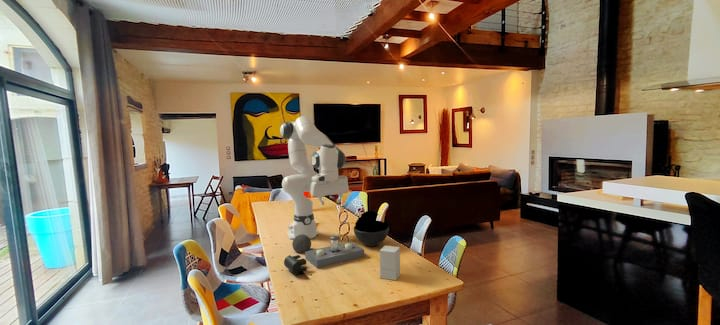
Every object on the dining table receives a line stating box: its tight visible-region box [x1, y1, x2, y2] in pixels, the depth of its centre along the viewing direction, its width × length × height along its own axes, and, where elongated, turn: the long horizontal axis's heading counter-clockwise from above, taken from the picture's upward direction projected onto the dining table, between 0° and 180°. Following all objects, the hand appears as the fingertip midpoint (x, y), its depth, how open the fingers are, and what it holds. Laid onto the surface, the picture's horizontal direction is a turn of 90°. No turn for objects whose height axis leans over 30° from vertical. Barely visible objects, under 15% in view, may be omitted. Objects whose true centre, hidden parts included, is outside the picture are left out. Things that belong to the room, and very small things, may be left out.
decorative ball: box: [292, 234, 312, 254], centre depth 175 cm, size 10×10×10 cm
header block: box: [304, 241, 365, 269], centre depth 165 cm, size 14×26×6 cm, turn 122°
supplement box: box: [379, 245, 401, 281], centre depth 145 cm, size 7×7×13 cm
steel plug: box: [329, 235, 340, 253], centre depth 164 cm, size 4×4×11 cm
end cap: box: [283, 254, 308, 277], centre depth 151 cm, size 10×7×7 cm
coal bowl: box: [353, 210, 390, 247], centre depth 186 cm, size 20×20×19 cm
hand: (330, 203), depth 166 cm, fingers open, 8 cm apart
